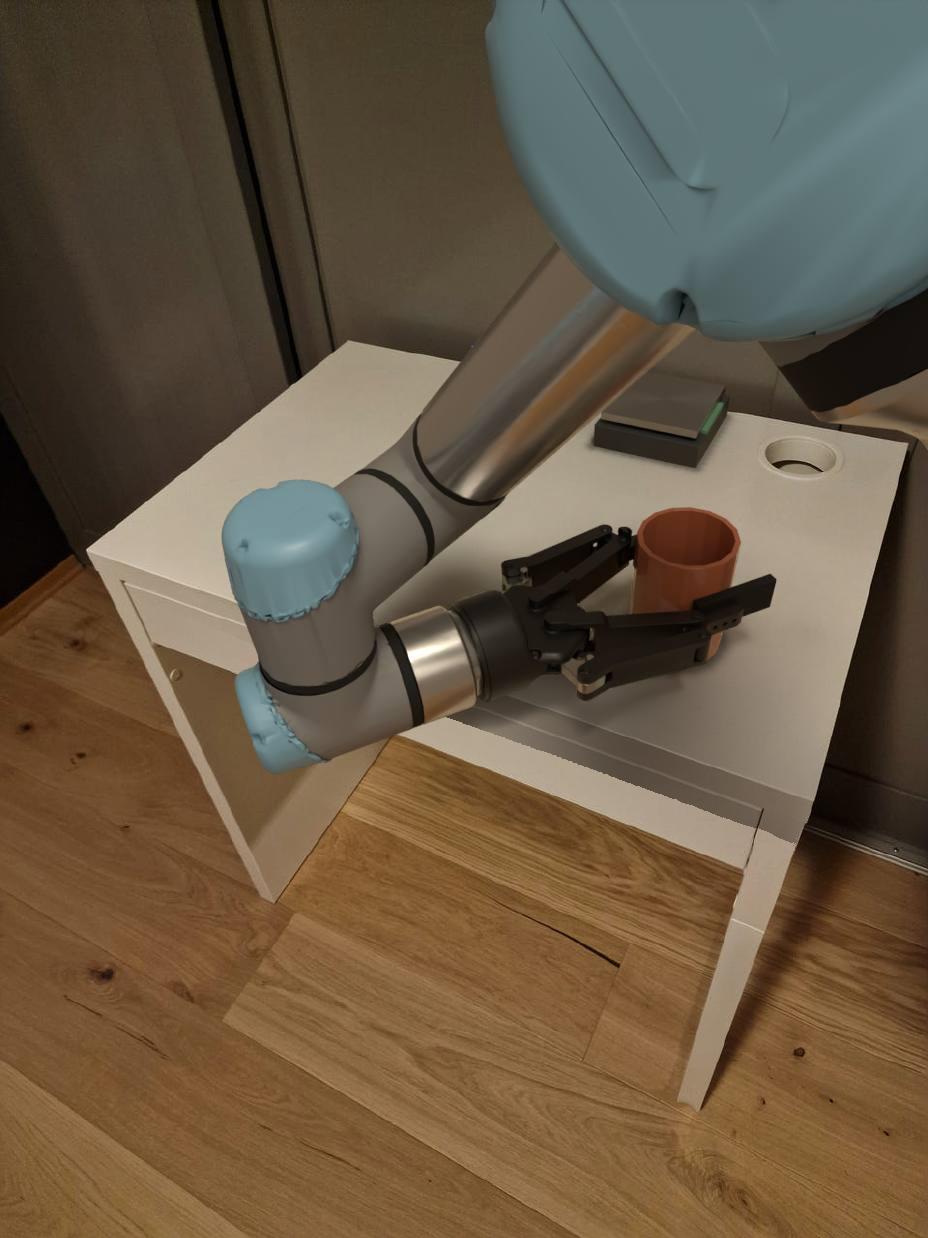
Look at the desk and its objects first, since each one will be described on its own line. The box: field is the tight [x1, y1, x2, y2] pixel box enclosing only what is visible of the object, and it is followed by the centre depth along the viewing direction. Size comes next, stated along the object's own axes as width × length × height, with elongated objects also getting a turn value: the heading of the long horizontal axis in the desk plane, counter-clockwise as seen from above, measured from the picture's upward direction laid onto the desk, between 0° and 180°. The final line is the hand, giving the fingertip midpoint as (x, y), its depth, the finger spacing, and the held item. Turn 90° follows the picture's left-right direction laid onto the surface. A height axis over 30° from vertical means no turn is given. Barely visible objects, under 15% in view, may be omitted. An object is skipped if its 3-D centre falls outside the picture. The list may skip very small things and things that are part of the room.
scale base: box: [593, 393, 731, 468], centre depth 89 cm, size 11×11×3 cm
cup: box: [628, 506, 742, 661], centre depth 64 cm, size 7×7×10 cm
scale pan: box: [600, 371, 727, 438], centre depth 87 cm, size 10×10×1 cm
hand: (736, 559), depth 64 cm, fingers closed on cup, 7 cm apart
